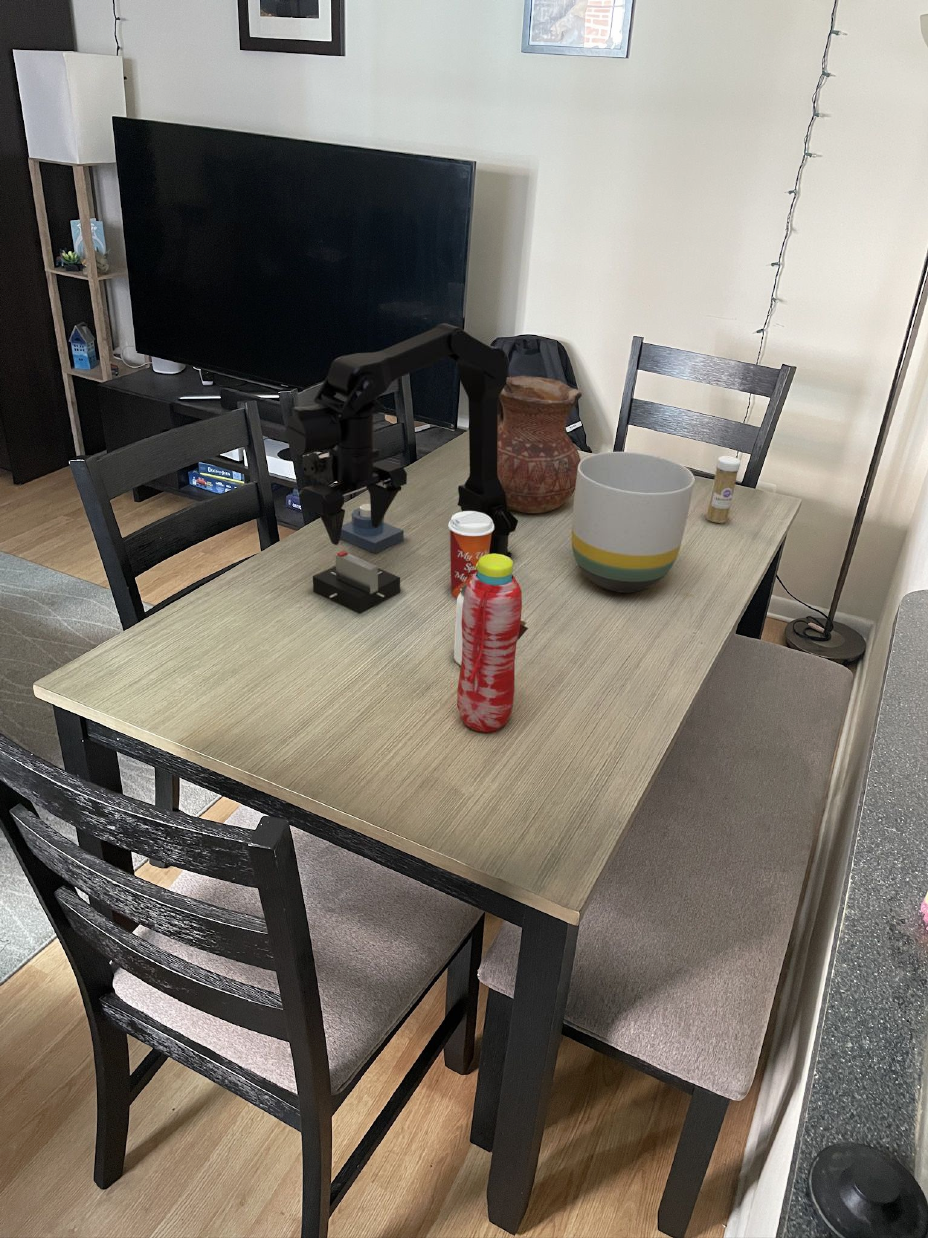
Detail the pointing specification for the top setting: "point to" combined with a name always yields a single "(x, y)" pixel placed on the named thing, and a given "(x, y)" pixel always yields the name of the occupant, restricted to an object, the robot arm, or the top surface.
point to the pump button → (365, 510)
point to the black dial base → (355, 590)
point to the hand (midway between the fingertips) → (355, 535)
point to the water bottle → (489, 644)
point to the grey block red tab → (356, 572)
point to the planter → (629, 518)
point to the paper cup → (467, 545)
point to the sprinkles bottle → (723, 489)
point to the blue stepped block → (370, 533)
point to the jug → (536, 443)
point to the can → (459, 626)
